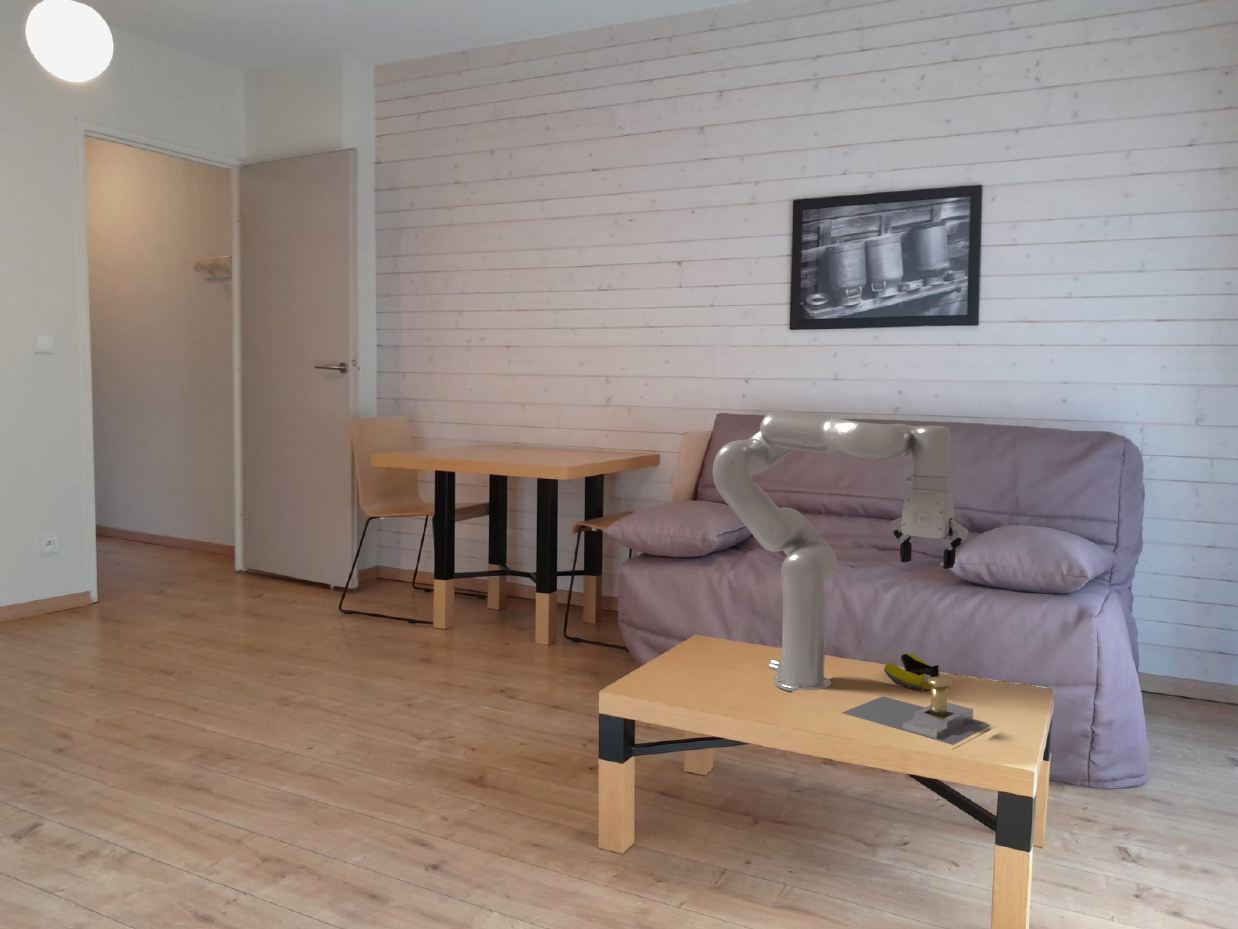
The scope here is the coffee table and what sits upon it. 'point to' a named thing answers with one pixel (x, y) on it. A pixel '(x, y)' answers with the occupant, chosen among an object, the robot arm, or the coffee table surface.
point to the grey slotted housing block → (939, 721)
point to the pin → (939, 695)
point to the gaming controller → (912, 672)
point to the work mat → (908, 718)
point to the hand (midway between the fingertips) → (926, 564)
